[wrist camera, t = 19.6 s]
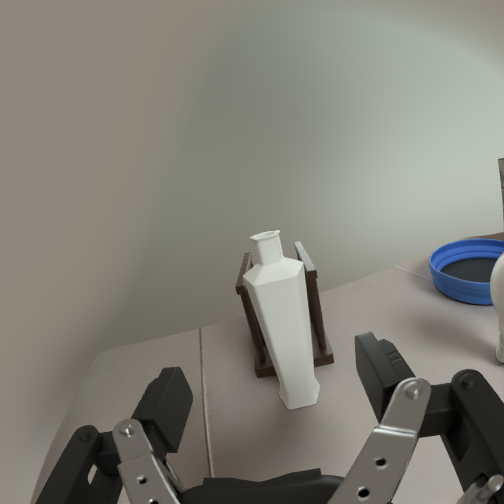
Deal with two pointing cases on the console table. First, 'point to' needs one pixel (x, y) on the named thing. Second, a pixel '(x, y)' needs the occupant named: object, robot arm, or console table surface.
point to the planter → (502, 178)
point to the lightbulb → (498, 301)
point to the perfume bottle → (284, 318)
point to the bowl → (466, 269)
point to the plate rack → (318, 336)
